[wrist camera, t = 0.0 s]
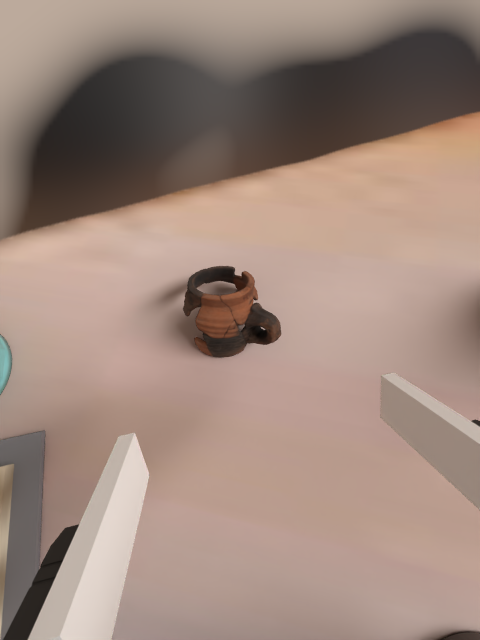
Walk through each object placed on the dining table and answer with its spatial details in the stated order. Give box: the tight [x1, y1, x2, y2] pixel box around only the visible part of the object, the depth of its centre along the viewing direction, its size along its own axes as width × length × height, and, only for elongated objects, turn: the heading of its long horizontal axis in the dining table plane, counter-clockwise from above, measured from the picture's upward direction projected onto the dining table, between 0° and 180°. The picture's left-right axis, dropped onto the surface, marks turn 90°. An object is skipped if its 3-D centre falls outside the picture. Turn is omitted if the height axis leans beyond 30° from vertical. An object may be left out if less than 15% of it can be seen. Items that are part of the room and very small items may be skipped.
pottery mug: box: [183, 266, 281, 357], centre depth 29 cm, size 12×10×8 cm
